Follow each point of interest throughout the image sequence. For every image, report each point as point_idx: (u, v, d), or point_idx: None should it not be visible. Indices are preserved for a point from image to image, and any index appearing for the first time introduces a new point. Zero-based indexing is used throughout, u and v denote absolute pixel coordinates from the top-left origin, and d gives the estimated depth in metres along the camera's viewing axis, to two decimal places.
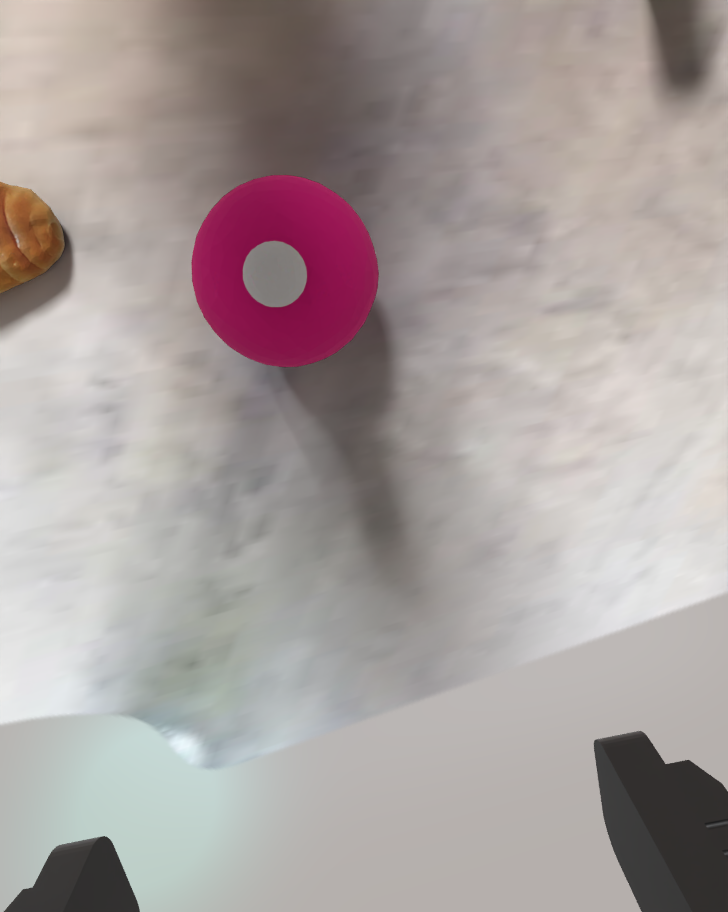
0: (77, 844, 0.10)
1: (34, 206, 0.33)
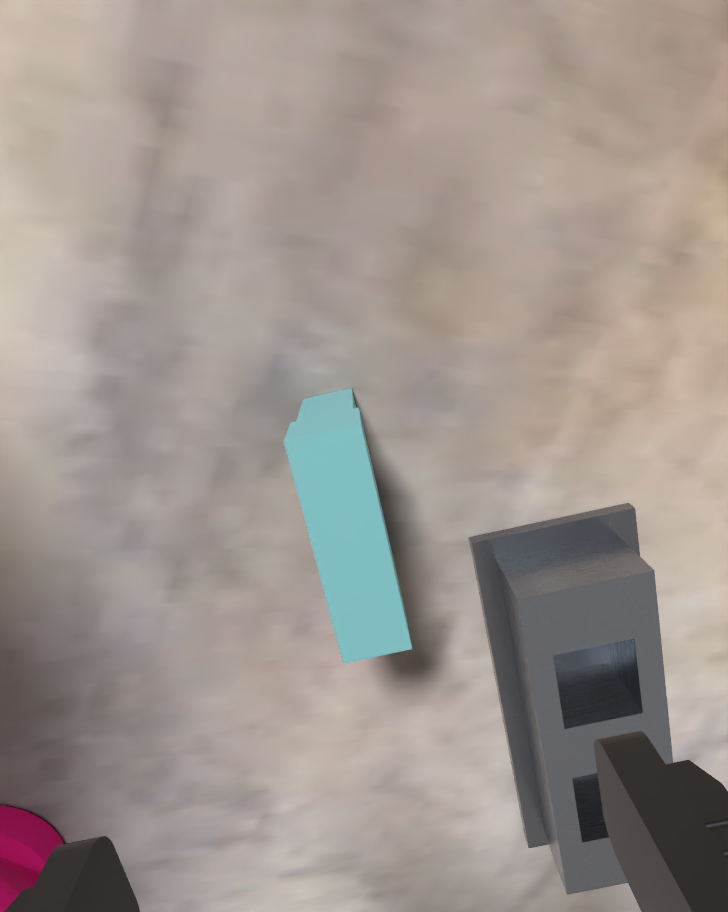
0: (77, 844, 0.10)
1: None
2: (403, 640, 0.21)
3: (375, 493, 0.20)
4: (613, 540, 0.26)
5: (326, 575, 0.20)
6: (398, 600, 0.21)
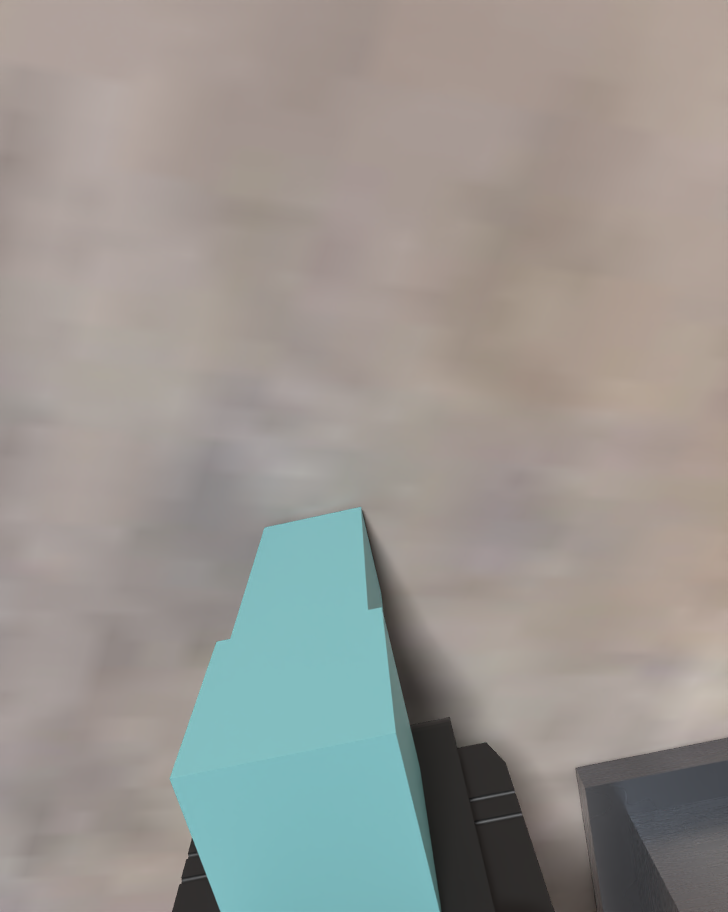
0: None
1: None
2: None
3: (432, 896, 0.07)
4: None
5: None
6: None
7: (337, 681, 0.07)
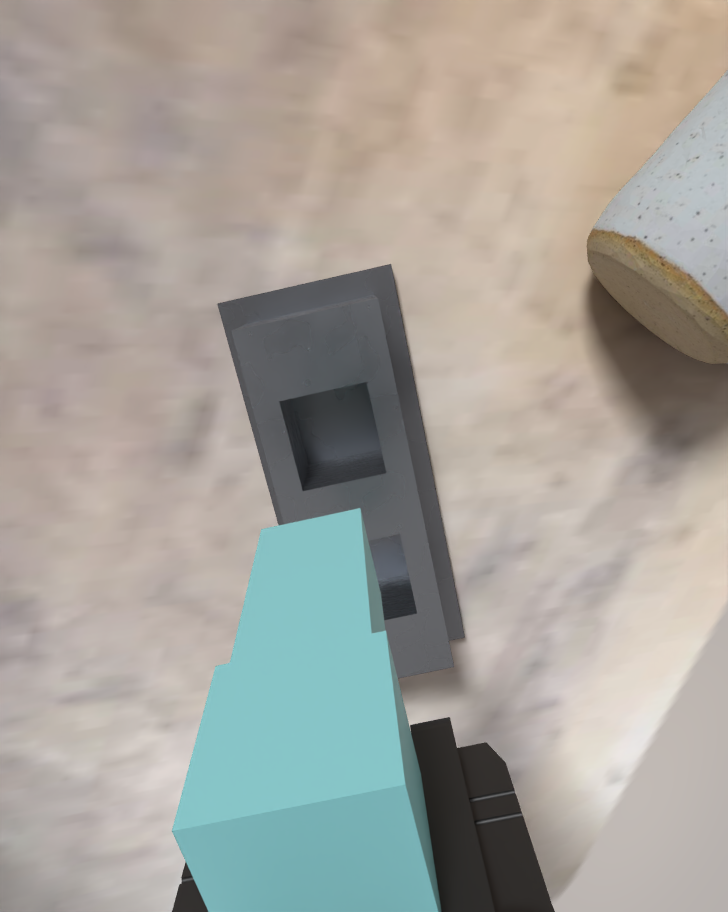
0: None
1: None
2: None
3: None
4: (365, 297, 0.24)
5: None
6: None
7: (342, 719, 0.07)
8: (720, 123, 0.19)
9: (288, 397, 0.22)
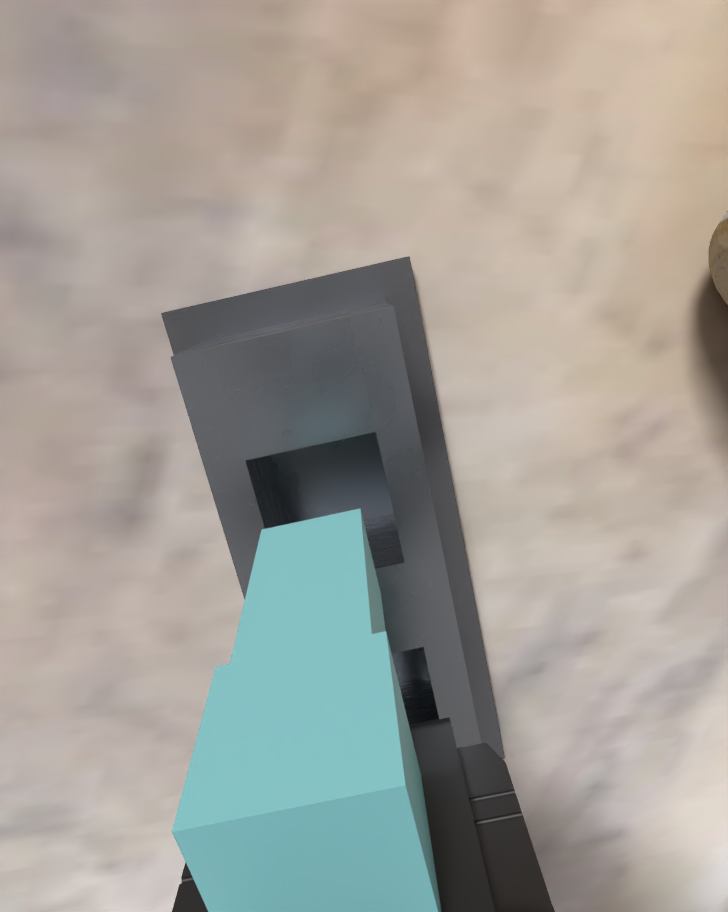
0: None
1: None
2: None
3: None
4: (373, 303, 0.17)
5: None
6: None
7: (342, 719, 0.07)
8: None
9: (259, 455, 0.15)
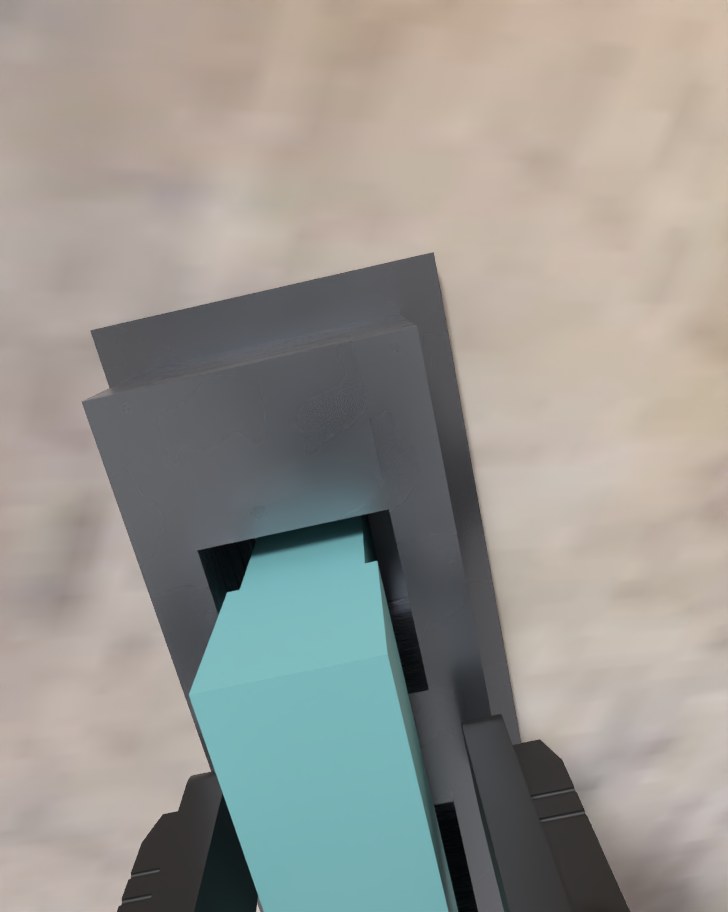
0: (211, 773, 0.11)
1: None
2: None
3: (420, 807, 0.08)
4: (384, 318, 0.12)
5: None
6: None
7: (336, 618, 0.08)
8: None
9: (217, 542, 0.10)
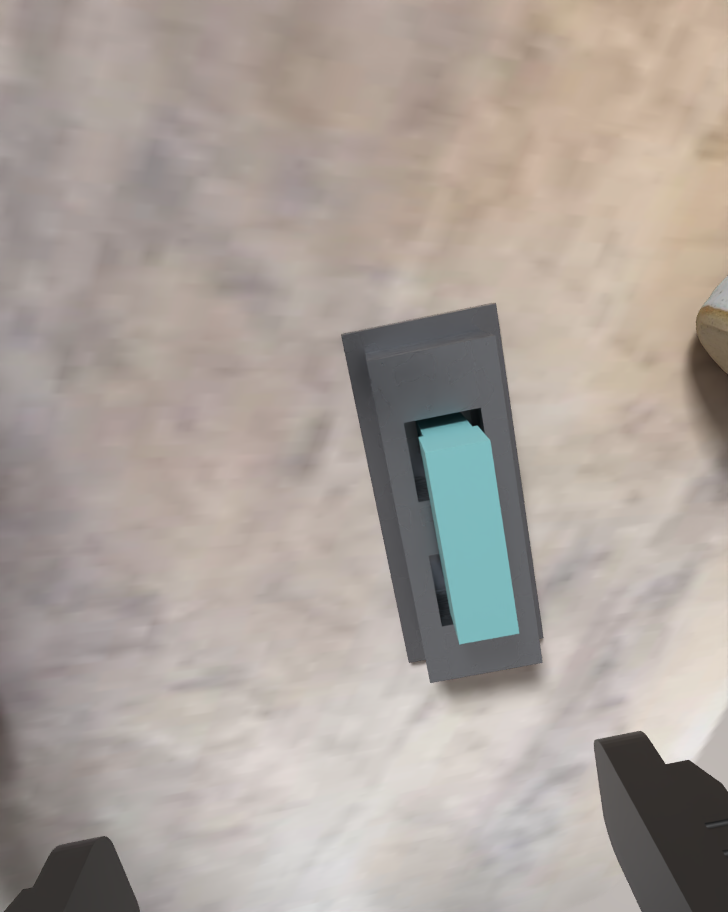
0: (77, 844, 0.10)
1: None
2: (512, 625, 0.25)
3: (498, 498, 0.23)
4: (473, 332, 0.28)
5: (451, 567, 0.24)
6: (510, 590, 0.24)
7: (468, 436, 0.24)
8: None
9: (412, 419, 0.26)
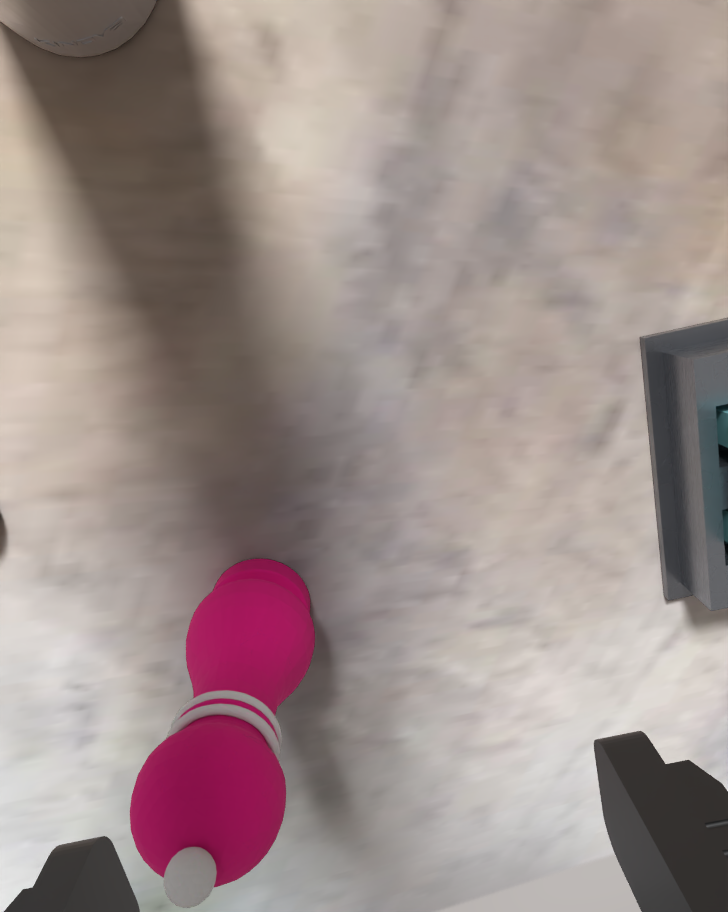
0: (77, 844, 0.10)
1: None
2: None
3: None
4: None
5: None
6: None
7: None
8: None
9: (722, 403, 0.33)
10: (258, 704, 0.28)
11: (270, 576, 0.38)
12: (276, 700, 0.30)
